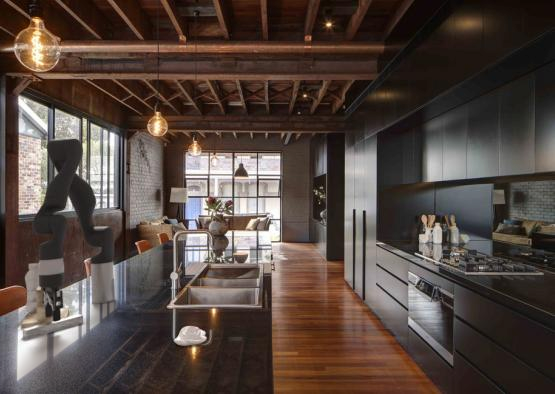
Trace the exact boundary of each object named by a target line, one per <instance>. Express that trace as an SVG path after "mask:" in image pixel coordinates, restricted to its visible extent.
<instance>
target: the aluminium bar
mask: <svg viewBox="0 0 555 394" xmlns="http://www.w3.org/2000/svg"><path fill="white" fill-rule="evenodd" d="M83 323H84V315H83V314H80V313H77V314H74V315H70V316H68V317H66V318H63V319H61V320H60V321H56V322H54V321H51V322H47V323H43V324H40V325H36V326H32V327H28V328H23V329H22V338H24V339H25V340H27V339H30V338H34V337H37V336H42V335H45V334H48V333H52V332H56V331H58V330H62V329H66V328H69V327H70V328H71V327H73V326H77V325H80V324H83Z"/></svg>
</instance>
